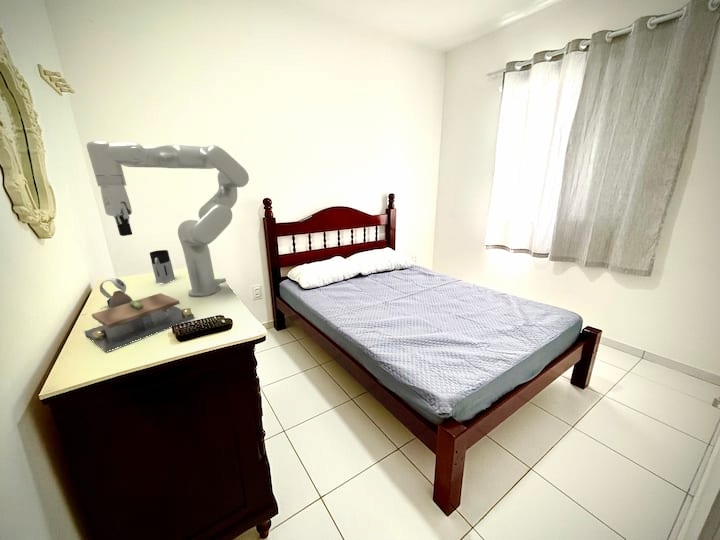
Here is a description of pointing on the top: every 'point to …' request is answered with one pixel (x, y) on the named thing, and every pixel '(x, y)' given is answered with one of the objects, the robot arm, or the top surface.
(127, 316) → the plate
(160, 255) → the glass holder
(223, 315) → the top surface
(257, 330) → the top surface
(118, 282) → the watch
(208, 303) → the top surface
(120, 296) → the vase
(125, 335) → the base
